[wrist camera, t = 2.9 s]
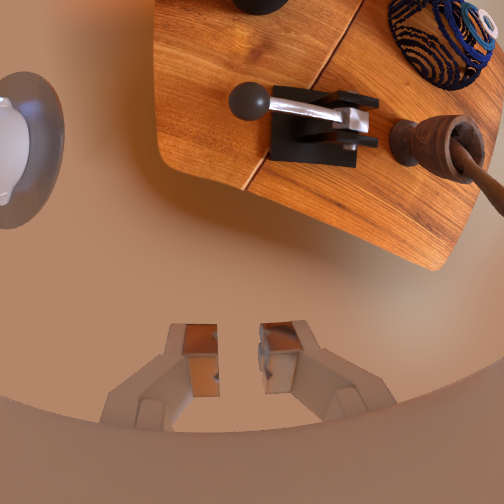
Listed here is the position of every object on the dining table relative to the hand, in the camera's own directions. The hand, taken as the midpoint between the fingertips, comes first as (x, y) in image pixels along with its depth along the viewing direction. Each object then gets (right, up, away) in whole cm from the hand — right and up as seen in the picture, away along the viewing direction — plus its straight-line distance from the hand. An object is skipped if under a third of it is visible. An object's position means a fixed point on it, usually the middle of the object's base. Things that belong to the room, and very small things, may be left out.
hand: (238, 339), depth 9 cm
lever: (+4, +15, +14) cm, 21 cm away
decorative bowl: (+32, +40, +21) cm, 56 cm away
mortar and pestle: (+26, +19, +28) cm, 42 cm away
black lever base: (+9, +19, +25) cm, 33 cm away
